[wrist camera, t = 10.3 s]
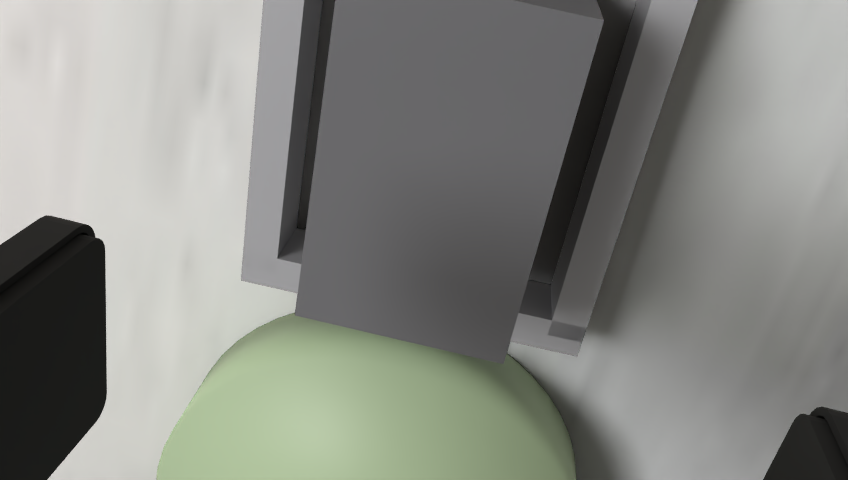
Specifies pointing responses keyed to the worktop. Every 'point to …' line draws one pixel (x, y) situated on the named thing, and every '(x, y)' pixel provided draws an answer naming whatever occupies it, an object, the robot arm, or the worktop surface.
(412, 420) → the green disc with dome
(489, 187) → the grey sliding block
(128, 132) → the worktop surface
